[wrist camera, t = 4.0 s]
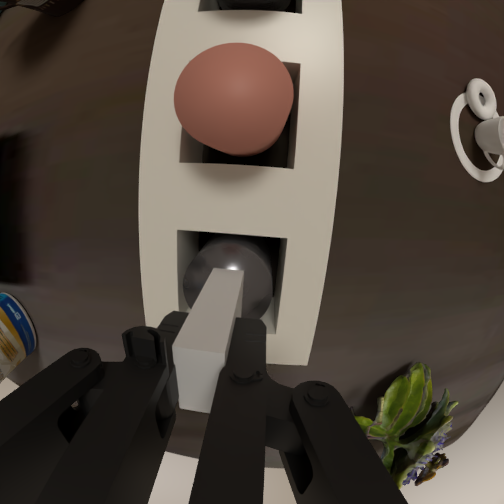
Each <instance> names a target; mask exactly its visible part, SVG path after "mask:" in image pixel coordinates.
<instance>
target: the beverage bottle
mask: <svg viewBox="0 0 504 504" xmlns="http://www.w3.org/2000/svg"><path fill="white" fill-rule="evenodd" d="M35 347H36V334H35V330H34V327H33V324H32V322H31V320H30V318H29V316H28V314H27V313H26V311H25V309H24V308H23V307H22V305H21V304H20V303H19V302H18V301H17V300H16V299H15V298H14V297H13V296H12V295H10V294H8V293H0V383H1V382H2V380H4V379H5V378H6V377H7V376H8V375H9V373H10V372H11V371H12V370H13V369H14V368H15V367H16V366H17V365H18V364H19V363H20V362H21V361H23V360H24V359H25V358H26V357H27V356H28V355H30V354H31V353H32V352H33V351H34V349H35Z"/></svg>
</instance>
